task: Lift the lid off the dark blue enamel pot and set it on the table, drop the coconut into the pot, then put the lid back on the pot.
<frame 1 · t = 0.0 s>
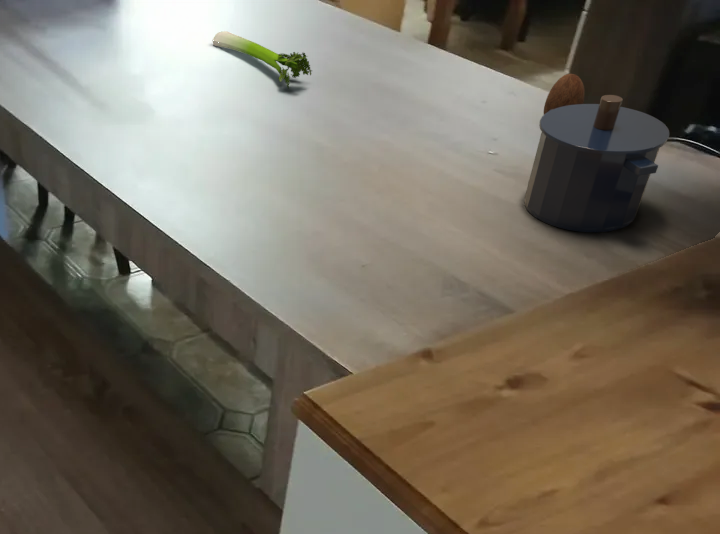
celery stalk: (257, 68, 168), on the table
coconut: (557, 128, 142), on the table
lid: (602, 130, 116), point 10 cm above the table, touching pot
pot: (579, 207, 123), on the table
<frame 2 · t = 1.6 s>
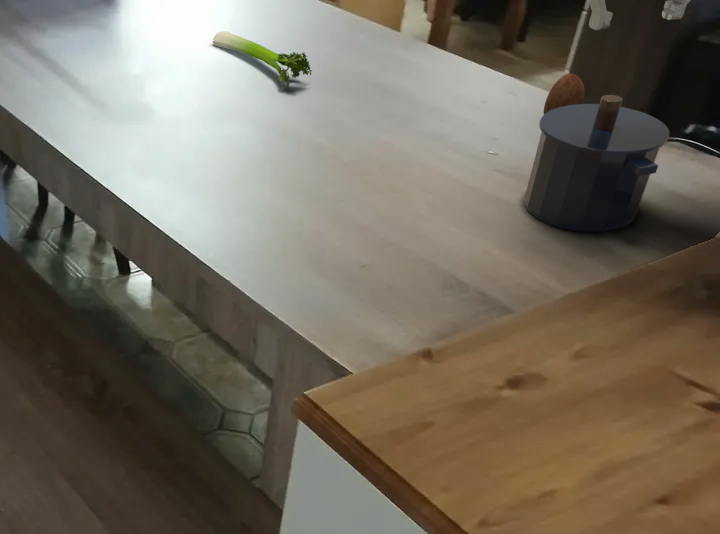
hand: (634, 23, 107), 23 cm above the table, tool pointing down, fingers open, 8 cm apart
nothing on the table moved.
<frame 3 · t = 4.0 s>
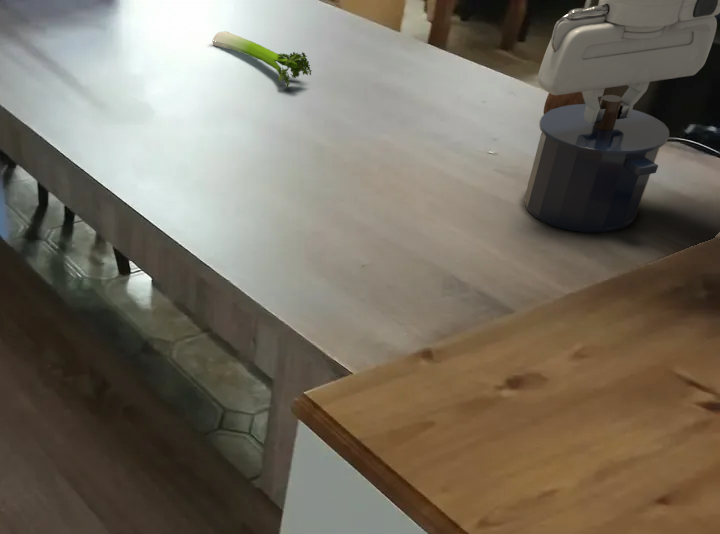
hand: (606, 119, 115), 12 cm above the table, tool pointing down, fingers closed on lid, 2 cm apart
lid: (602, 130, 116), point 11 cm above the table, touching gripper, pot
everything else where it was.
when the fingers open (2 cm above the table, at t = 11.4 s): lid stays where it is, point 1 cm above the table.
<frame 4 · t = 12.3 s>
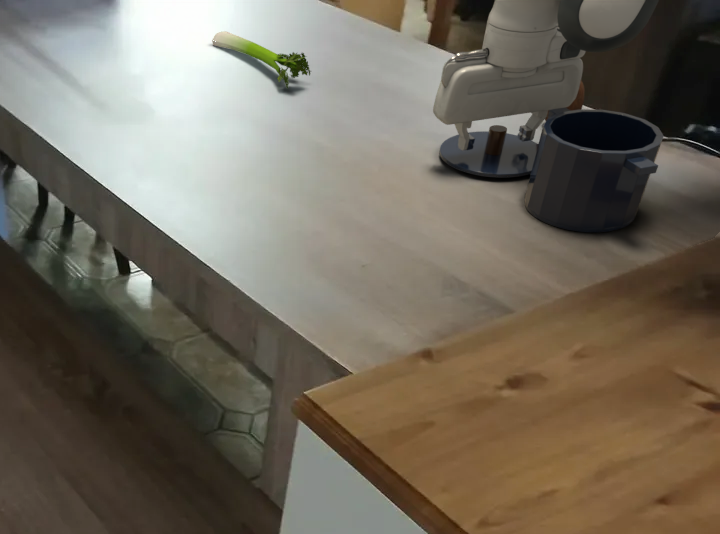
hand: (495, 144, 133), 2 cm above the table, tool pointing down, fingers open, 8 cm apart
lid: (492, 155, 134), point 1 cm above the table
everything else where it was.
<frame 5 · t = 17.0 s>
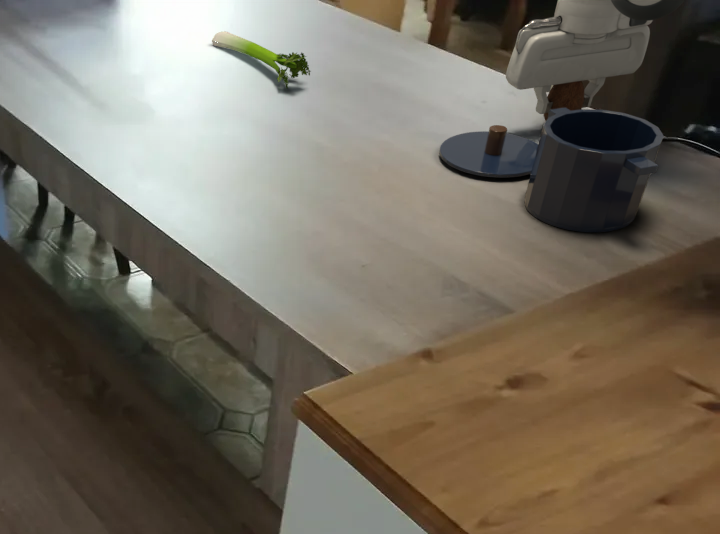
hand: (562, 109, 140), 3 cm above the table, tool pointing down, fingers closed on coconut, 5 cm apart
coconut: (557, 128, 142), on the table, touching gripper
everything else where it was.
when the fingers open (13 cm above the table, at t = 23.3 s): coconut drops 9 cm, resting on pot.
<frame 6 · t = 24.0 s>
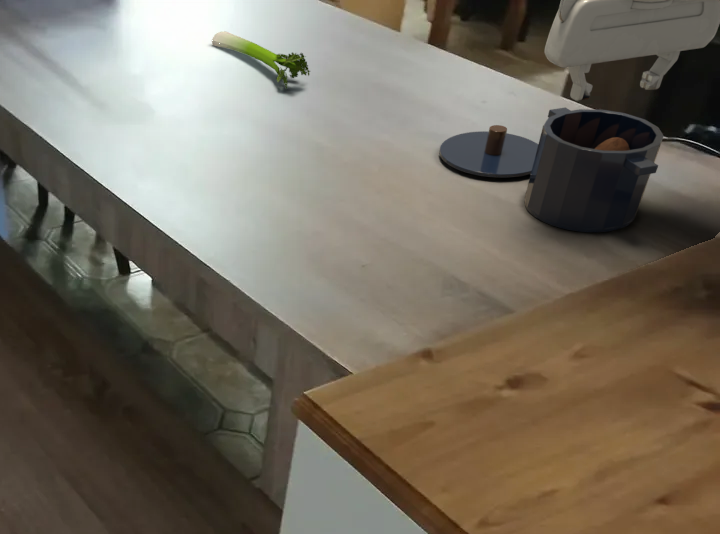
hand: (614, 93, 113), 15 cm above the table, tool pointing down, fingers open, 8 cm apart
coconut: (585, 198, 122), point 1 cm above the table, touching pot
everything else where it was.
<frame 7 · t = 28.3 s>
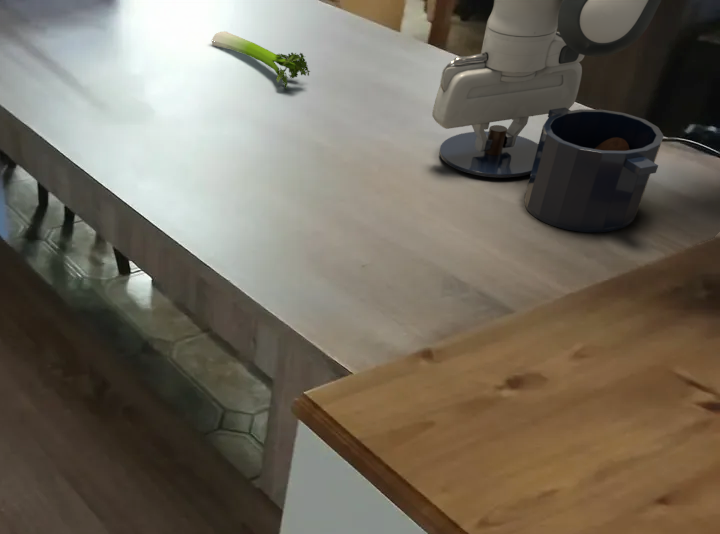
hand: (494, 147, 134), 2 cm above the table, tool pointing down, fingers closed on lid, 2 cm apart
lid: (492, 155, 134), point 1 cm above the table, touching gripper
everything else where it was.
when the fingers open (12 cm above the table, at t = 35.6 s): lid stays where it is, resting on pot.
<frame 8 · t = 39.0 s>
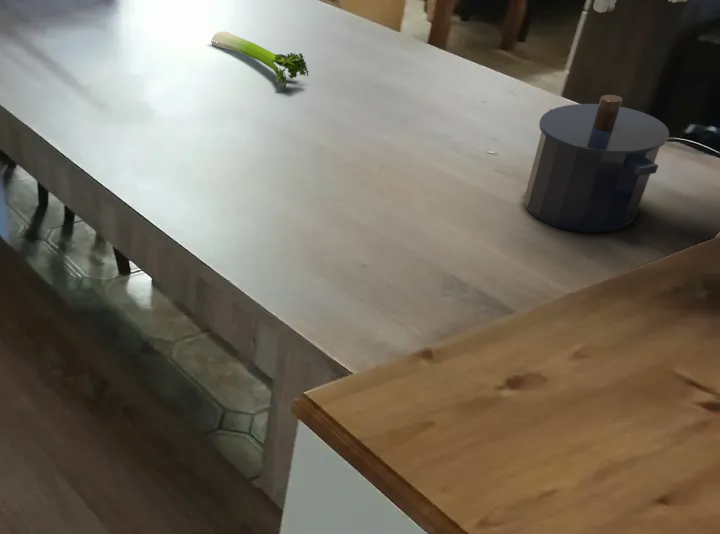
hand: (639, 6, 106), 25 cm above the table, tool pointing down, fingers open, 8 cm apart
lid: (602, 130, 116), point 10 cm above the table, touching pot
everything else where it was.
at the end: coconut inside the target area in the pot (0.6 cm from its centre), point 1.2 cm above the pot's base; lid 0.0 cm off-centre on the pot, point 10.5 cm above the pot's base; lid tilted 0° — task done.
